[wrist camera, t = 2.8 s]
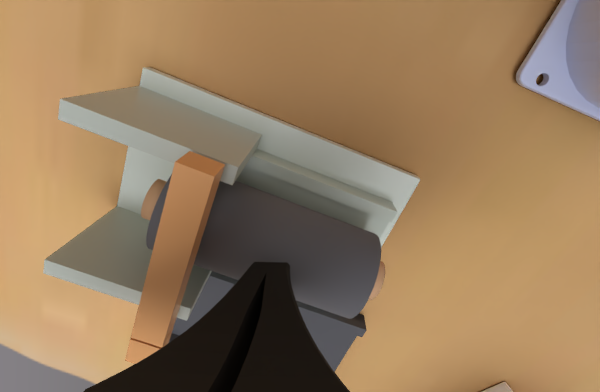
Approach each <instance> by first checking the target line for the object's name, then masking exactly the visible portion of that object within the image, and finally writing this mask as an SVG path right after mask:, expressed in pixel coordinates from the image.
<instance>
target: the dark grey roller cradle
mask: <svg viewBox="0 0 600 392" xmlns="http://www.w3.org/2000/svg"><path fill="white" fill-rule="evenodd" d="M237 281H238V280H236V279H233V278H231V277H228V276H225V275H222V274H219V273H216V272H213V271H212V272H211V274H210V276H209V278H208V280H207V282H206V284H205V286H204V288H203V290H202V292H201V294H200V296H199V298H198V300H197V302H196V304H195V306H194V308H193V310H192V312H191V314H190V316H189V318H188V320H187V321H186V320H183V319H180V318H176V321H175V324H174V327H173V331H172V334H171V337H170V340H169V343H170V342H171V341H172V340H174V339H175V338H177V337H178V336H180V335H181V334H182V333H184V332H185V331H186V330H188V329H189V328H190V327H191V326H193V325H194V324H195V323H196V322H197V321H199V320H200V319H201V318H202V317H203V316H204V315H205V314H206V313H208V312H209V311H210V310H211V309H212V308H213V307H214V306H215V305H216V304H217V303H218V302H219V301H220V300H221V299H222V298H223V297H224V296H225V295H226V294H227V293H228V291H229V290H230V289H231V288H232V287H233V286H234V285H235V284H236V283H237ZM296 302H297V305H298V308H299V310H300V313H301V315H302V318H303V320H304V322H305V324H306V327H307V329H308V331H309V332H310V334H311V336H312V338H313V340H314V342H315V343H316V345H317V347H318V349H319V350H320V352H321V353H322V355H323V356H324V358H325V359H326V361H327V362H328V364H329V365H330V367H331V368H332V370H333V371H334V372H335V370H336V368H337V367H338V365H339V364H340V362H341V360H342V359H343V357H344V356H345V354H346V352H347V351H348V349H349V348H350V346H351V344H352V343H353V341H354V340H355V338H356V336H360V337H362V336H363V335H364V333H365V332H366V325H365V320H364V315H361V314H358V315H357V316H355V317H354V318H352V319H348V318H345V317H342V316H339V315H336V314H333V313H331V312H328V311H325V310H322V309H319V308H316V307H313V306H311V305H308V304H305V303H302V302H299V301H296Z"/></svg>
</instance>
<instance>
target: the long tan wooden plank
mask: <svg viewBox="0 0 600 392" xmlns="http://www.w3.org/2000/svg"><path fill="white" fill-rule="evenodd" d="M224 166H225V164H223V163H220V162H217V161H215V160H212V159H210V158H207V157H204V156H202V155H199V154H197V153H194V152H191V151H189V152H188V153H186V154H185V155H184V156H182V157H181V158H179V159H178V160H177V161H175V164H174V168H173V172H172V176H171V180H170V184H169V188H168V192H167V196H166V199H165V203H164V207H163V211H162V215H161V219H160V223H159V227H158V231H157V235H156V239H155V243H154V247H153V251H152V255H151V259H150V263H149V267H148V271H147V275H146V279H145V283H144V287H143V291H142V295H141V299H140V303H139V307H138V311H137V315H136V319H135V323H134V327H133V331H132V335H131V339H130V343H129V347H128V351H127V355H126V359H125V361H128V362H131V363H134V364H136V363H138V362H140V361H141V360H143V359H145V358H147V357H148V356H150V355H151V354H153V353H155V352H156V351H158V350H159V349H161V348H162V347H164V346H165V345H167V344H168V343H169V340H170V337H171V334H172V331H173V327H174V324H175V321H176V318H177V315H178V312H179V308H180V305H181V302H182V299H183V296H184V293H185V290H186V286H187V283H188V280H189V277H190V274H191V271H192V267H193V264H194V261H195V258H196V255H197V252H198V249H199V245H200V242H201V239H202V236H203V233H204V230H205V226H206V223H207V220H208V217H209V214H210V211H211V207H212V204H213V201H214V198H215V195H216V192H217V189H218V185H219V182H220V179H221V176H222V173H223V170H224Z"/></svg>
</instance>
